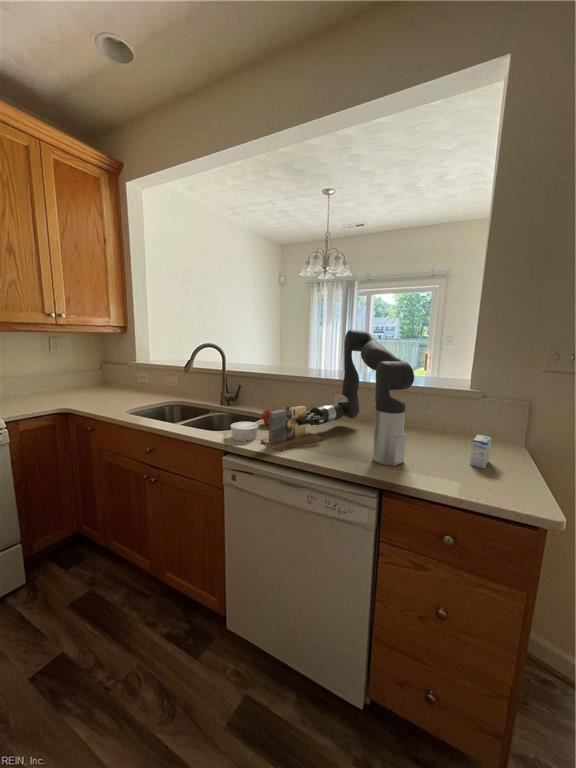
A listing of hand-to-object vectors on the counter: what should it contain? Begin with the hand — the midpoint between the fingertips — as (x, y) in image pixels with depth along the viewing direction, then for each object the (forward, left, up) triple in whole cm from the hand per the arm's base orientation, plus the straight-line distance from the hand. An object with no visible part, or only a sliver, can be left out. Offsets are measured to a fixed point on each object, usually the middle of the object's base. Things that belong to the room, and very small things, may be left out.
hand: (293, 421), depth 125 cm
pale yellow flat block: (0, -1, -7) cm, 7 cm away
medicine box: (-56, -33, -8) cm, 65 cm away
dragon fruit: (+22, -7, -8) cm, 24 cm away
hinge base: (0, +1, -8) cm, 8 cm away
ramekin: (+15, +13, -8) cm, 21 cm away
